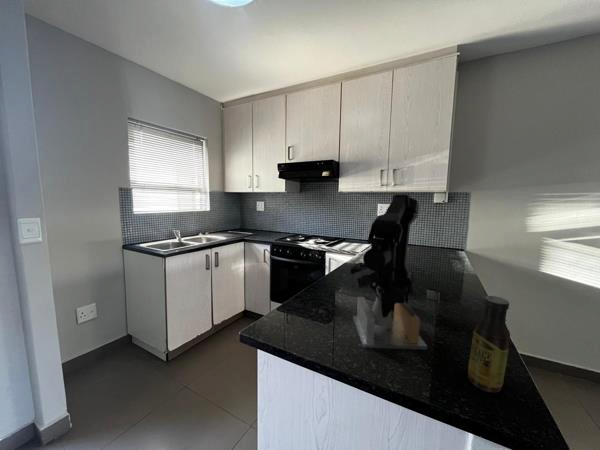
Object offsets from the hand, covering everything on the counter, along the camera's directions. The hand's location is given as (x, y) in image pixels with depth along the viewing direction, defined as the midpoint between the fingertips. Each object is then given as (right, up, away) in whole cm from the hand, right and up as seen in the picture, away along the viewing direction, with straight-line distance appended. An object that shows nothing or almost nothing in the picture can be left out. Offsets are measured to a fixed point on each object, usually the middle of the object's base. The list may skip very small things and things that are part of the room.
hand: (381, 312), depth 75 cm
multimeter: (+13, 0, +56) cm, 57 cm away
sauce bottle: (+16, -9, -20) cm, 27 cm away
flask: (0, -3, 0) cm, 3 cm away
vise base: (+2, -6, +1) cm, 6 cm away
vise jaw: (+7, -5, 0) cm, 9 cm away
